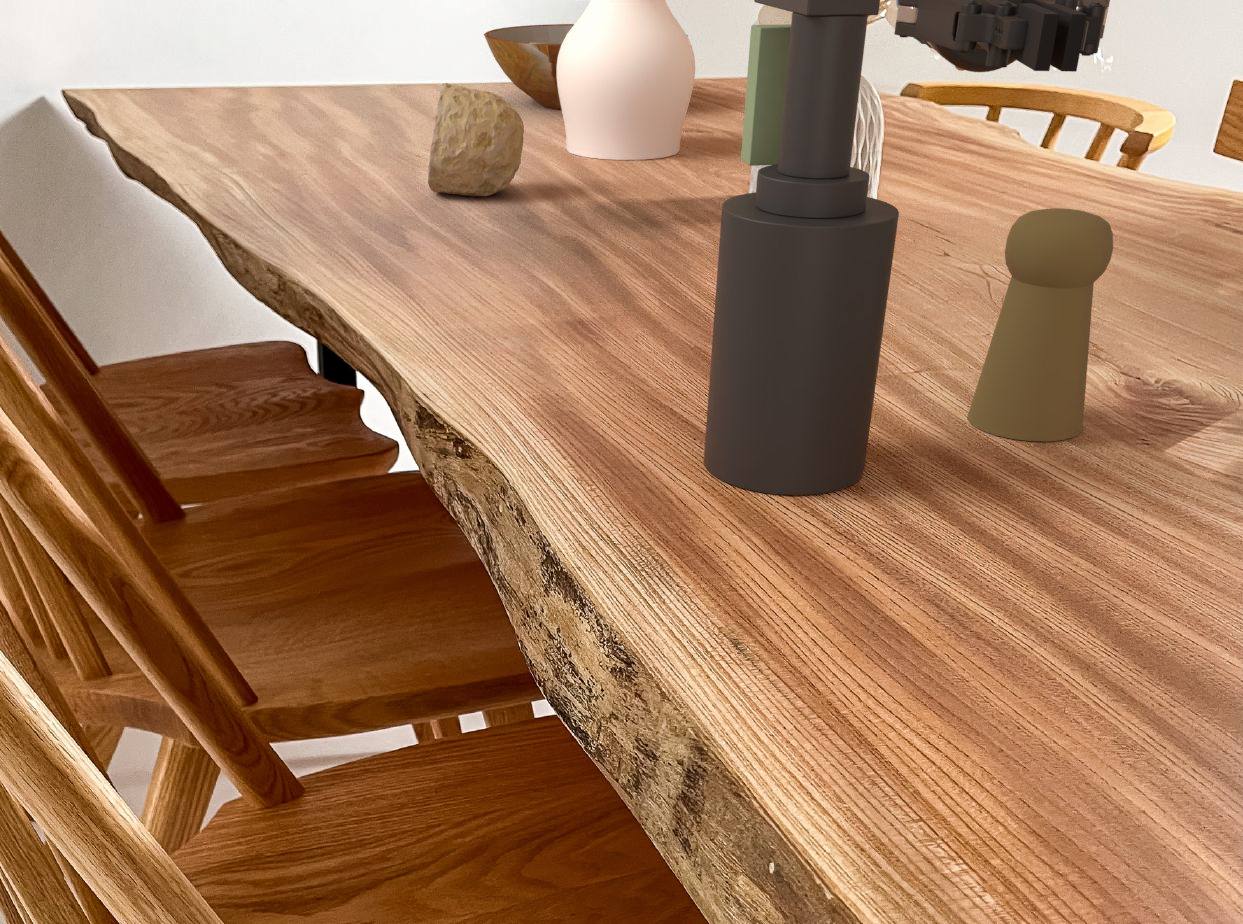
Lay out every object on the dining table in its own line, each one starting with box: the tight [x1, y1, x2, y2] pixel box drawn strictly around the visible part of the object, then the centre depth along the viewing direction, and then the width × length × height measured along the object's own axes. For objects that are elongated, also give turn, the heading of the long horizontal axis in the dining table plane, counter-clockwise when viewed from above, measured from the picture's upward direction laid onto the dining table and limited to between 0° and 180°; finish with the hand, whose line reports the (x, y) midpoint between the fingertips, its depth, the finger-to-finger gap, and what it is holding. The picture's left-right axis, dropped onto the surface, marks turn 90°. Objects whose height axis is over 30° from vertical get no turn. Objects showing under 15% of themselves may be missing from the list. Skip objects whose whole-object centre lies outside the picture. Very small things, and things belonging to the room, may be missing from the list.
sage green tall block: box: [740, 23, 791, 167], centre depth 67 cm, size 1×3×6 cm, turn 100°
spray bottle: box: [703, 0, 900, 496], centre depth 65 cm, size 10×8×24 cm
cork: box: [967, 207, 1114, 442], centre depth 73 cm, size 6×6×11 cm
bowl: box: [483, 23, 689, 110], centre depth 174 cm, size 25×25×8 cm
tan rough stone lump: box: [427, 82, 525, 197], centre depth 126 cm, size 10×10×10 cm
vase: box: [557, 0, 696, 161], centre depth 143 cm, size 14×14×20 cm
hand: (1060, 42), depth 73 cm, fingers closed
